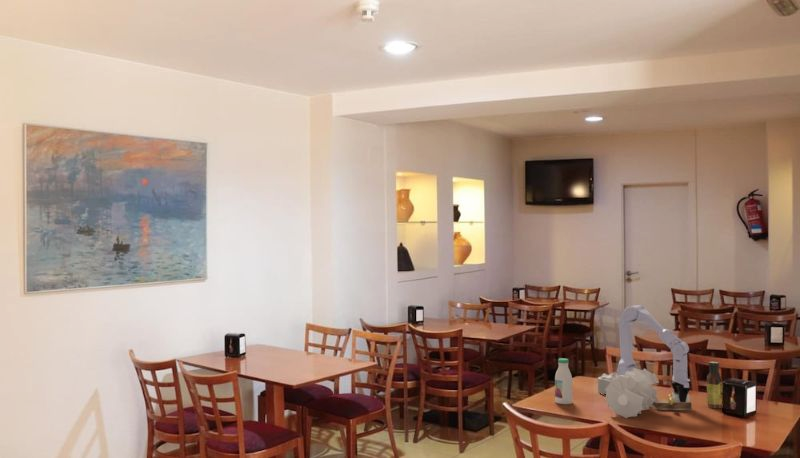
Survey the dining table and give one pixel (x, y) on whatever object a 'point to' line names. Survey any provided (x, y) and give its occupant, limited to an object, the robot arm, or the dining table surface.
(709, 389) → the sauce bottle
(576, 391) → the dining table surface
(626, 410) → the spiral staircase
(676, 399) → the white block with knob
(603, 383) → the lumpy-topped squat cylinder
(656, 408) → the tan flat board
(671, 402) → the lever
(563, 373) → the milk bottle
